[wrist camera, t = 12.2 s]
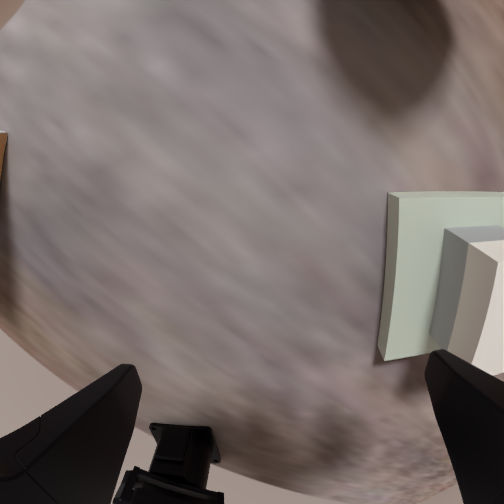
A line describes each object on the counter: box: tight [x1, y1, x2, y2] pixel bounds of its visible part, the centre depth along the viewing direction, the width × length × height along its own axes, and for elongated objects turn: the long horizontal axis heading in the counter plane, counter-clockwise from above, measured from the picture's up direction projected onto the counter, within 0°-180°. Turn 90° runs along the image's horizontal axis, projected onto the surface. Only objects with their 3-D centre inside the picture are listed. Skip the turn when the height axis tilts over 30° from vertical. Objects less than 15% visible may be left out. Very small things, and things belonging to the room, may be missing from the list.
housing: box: [429, 225, 504, 376], centre depth 16 cm, size 5×8×6 cm, turn 5°
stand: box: [377, 191, 504, 361], centre depth 20 cm, size 12×12×2 cm
